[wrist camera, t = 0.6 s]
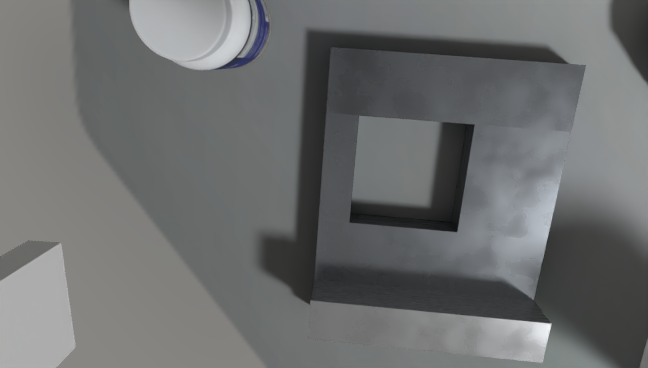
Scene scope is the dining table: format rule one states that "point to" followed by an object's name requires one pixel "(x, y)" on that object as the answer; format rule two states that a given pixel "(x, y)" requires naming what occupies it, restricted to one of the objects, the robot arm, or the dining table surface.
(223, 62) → the pill bottle
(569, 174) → the dining table surface
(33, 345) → the robot arm
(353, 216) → the jig
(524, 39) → the dining table surface
